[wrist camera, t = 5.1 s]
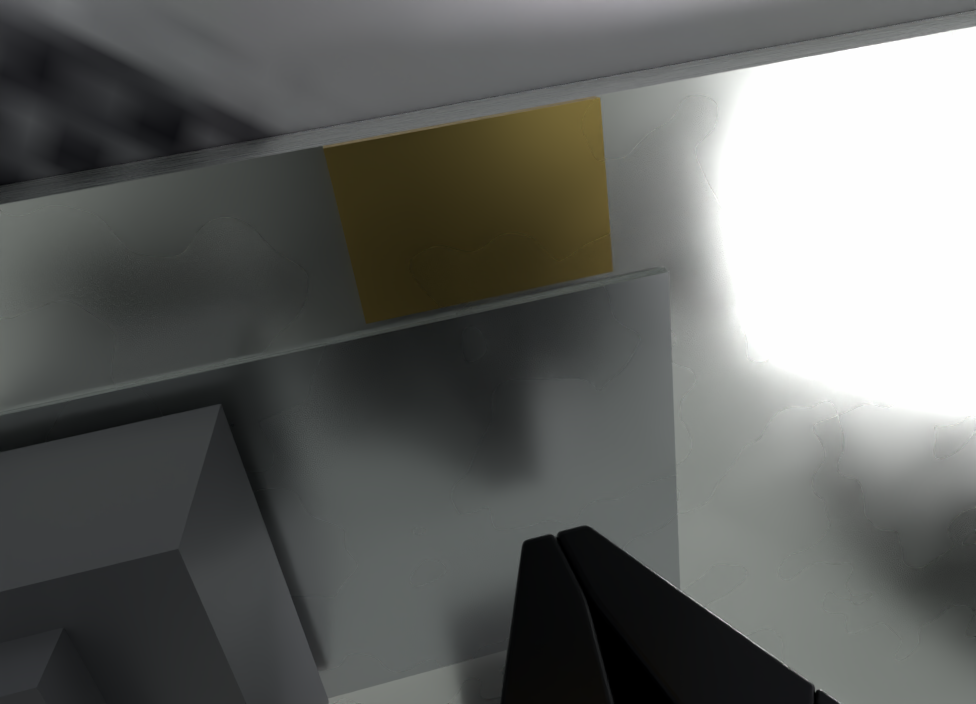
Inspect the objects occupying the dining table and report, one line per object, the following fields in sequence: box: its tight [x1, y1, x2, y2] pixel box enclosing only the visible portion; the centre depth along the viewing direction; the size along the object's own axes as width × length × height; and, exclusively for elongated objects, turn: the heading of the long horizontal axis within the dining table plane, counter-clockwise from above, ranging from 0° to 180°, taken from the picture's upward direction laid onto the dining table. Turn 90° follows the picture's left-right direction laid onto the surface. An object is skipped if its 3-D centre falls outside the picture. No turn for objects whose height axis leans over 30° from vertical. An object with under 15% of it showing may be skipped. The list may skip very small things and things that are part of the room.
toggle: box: [0, 404, 329, 704], centre depth 8 cm, size 3×5×3 cm, turn 9°
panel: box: [0, 10, 976, 704], centre depth 11 cm, size 24×16×3 cm, turn 98°
